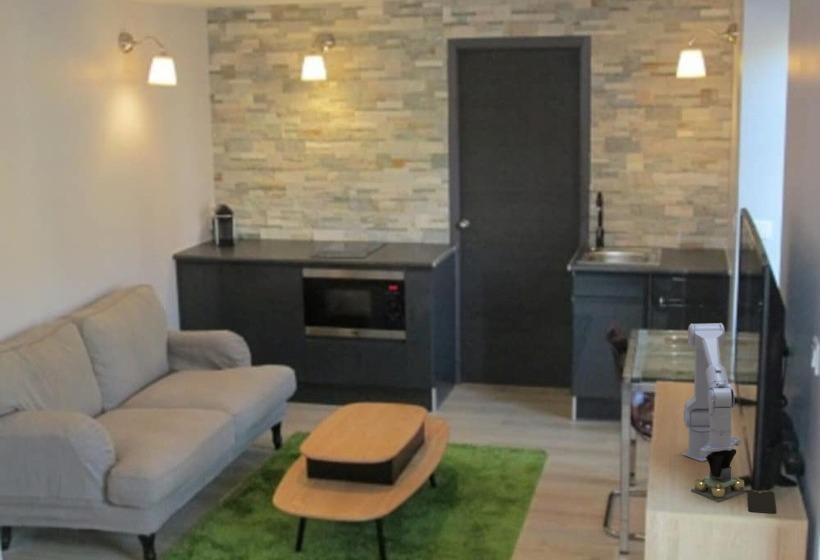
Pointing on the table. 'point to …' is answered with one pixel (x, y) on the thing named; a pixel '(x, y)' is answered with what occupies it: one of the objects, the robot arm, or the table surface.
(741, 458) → the table surface
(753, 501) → the smartphone
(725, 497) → the chassis
